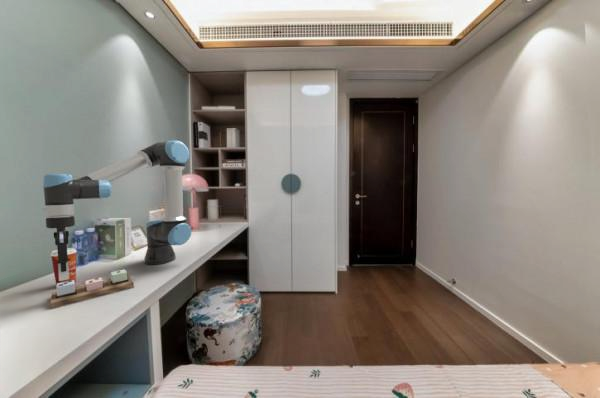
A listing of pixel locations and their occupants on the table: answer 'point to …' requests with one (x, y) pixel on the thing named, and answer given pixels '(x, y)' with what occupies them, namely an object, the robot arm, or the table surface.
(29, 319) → the table surface
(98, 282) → the key two
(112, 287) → the wooden tray
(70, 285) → the key three
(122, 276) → the key one
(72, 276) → the coffee cup
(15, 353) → the table surface
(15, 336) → the table surface
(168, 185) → the robot arm
